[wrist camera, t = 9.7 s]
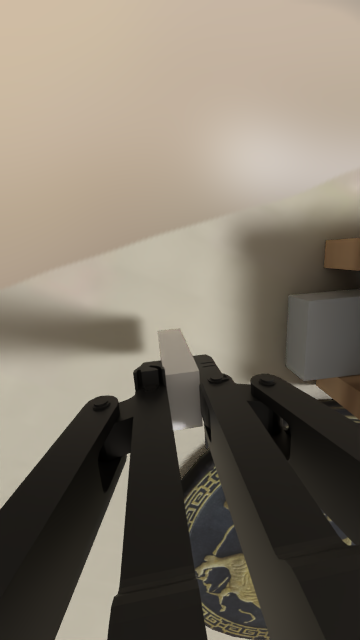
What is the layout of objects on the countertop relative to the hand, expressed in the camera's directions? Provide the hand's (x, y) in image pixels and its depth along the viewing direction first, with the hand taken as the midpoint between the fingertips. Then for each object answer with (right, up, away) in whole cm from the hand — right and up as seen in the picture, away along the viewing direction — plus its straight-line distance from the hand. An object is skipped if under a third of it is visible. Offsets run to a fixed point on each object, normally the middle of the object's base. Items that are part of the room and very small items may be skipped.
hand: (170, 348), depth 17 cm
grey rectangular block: (+14, +2, +4) cm, 15 cm away
